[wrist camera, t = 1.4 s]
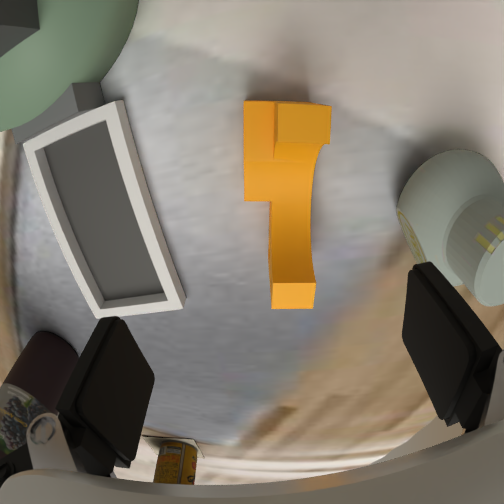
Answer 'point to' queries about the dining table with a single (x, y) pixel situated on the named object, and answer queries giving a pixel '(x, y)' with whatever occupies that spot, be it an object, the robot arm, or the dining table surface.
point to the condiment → (174, 460)
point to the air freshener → (458, 221)
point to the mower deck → (85, 150)
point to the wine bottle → (33, 387)
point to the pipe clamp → (285, 188)
